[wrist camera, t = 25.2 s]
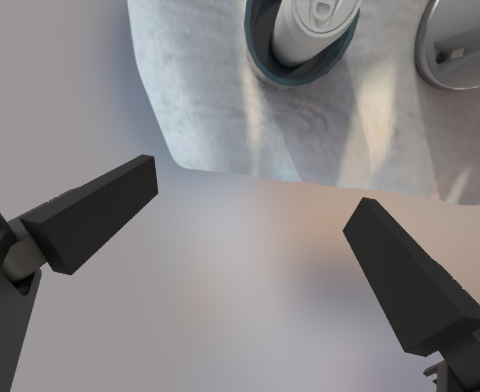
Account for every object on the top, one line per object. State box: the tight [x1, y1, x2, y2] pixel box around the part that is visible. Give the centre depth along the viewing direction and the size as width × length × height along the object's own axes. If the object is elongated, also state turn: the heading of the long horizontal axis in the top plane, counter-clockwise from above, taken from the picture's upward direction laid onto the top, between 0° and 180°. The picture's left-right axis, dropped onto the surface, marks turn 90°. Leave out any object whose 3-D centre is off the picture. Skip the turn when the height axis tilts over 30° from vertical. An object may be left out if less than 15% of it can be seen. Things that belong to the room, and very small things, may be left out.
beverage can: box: [271, 0, 362, 67], centre depth 19 cm, size 6×6×12 cm
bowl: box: [244, 0, 360, 90], centre depth 22 cm, size 12×12×6 cm
